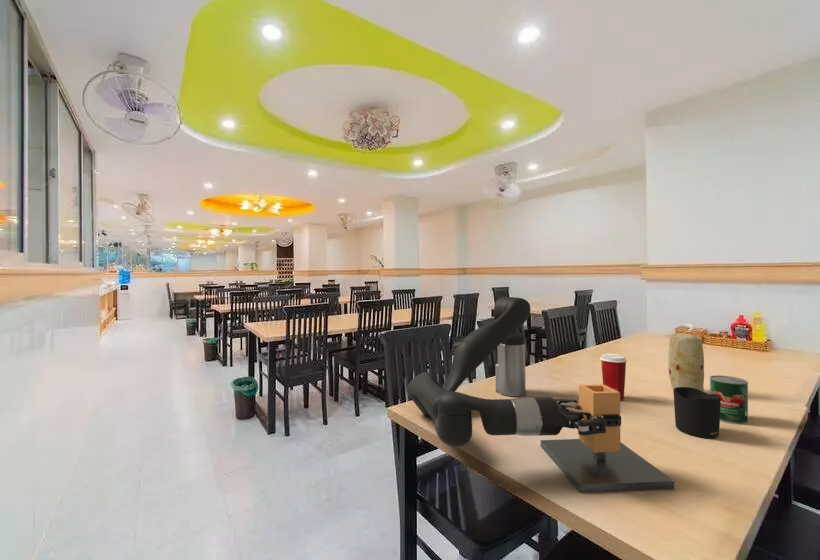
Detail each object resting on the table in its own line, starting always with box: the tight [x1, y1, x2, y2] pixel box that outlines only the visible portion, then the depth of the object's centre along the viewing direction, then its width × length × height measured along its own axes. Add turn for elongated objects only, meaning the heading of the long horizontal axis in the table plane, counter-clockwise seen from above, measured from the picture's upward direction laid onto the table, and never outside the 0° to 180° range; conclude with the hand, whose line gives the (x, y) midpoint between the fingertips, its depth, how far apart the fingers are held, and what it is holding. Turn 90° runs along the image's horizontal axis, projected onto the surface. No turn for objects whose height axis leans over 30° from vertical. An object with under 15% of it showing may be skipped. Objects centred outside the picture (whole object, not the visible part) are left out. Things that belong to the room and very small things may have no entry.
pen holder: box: [672, 387, 721, 439], centre depth 90 cm, size 9×9×10 cm
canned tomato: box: [709, 374, 749, 425], centre depth 98 cm, size 8×8×11 cm
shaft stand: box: [540, 438, 675, 494], centre depth 75 cm, size 18×18×9 cm
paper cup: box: [599, 353, 628, 402], centre depth 115 cm, size 8×8×14 cm
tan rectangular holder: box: [578, 383, 621, 452], centre depth 74 cm, size 6×6×12 cm
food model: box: [667, 332, 705, 392], centre depth 120 cm, size 10×7×20 cm
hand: (610, 414), depth 74 cm, fingers closed on tan rectangular holder, 5 cm apart
